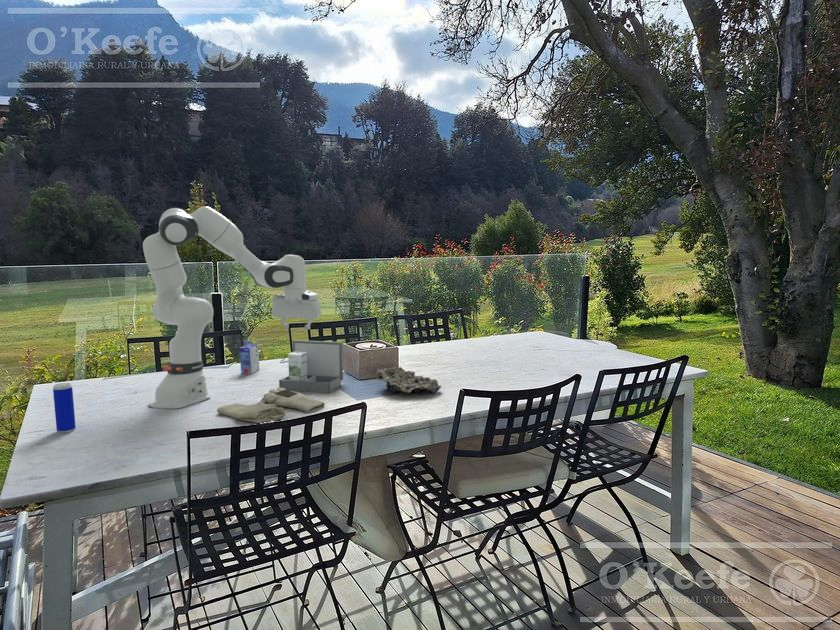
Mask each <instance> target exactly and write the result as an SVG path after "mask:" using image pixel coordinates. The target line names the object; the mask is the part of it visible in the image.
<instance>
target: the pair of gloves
mask: <svg viewBox="0 0 840 630" xmlns="http://www.w3.org/2000/svg"><path fill="white" fill-rule="evenodd" d="M324 407H325V402H324V401H322V400H318V399H315V398H312V397H309V396H306V395H304V394H303V393H300V392H298V391H290V390H286V389H284V388H279V387H277V388H276V389H275V388H273V389H269V390H268V393H264V394H263V397H262V398H261V400H260V401H259V402H257V403H252V404H249V405H248V404H241V403H236V402H235V403H231V404H227V405H223V406H219V407H217V409H216V412H217V413H218V414H220V415H224V416H228V417H232V418H234V419H237V420H239V421H240V420H241V421H244V422H251V423H253V424H254V423H255V424H257V423H264V422H271V421H276V422H278V420H281V419H283V418H284V417H286V411H285V409H284V408H289V409H296V410H299V411H300V412H304V413H306V414H307V413H312V412H314V411H315V412H316V411H317V410H320V409H323V408H324Z"/></svg>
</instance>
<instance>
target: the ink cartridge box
mask: <svg viewBox="0 0 840 630" xmlns="http://www.w3.org/2000/svg"><path fill="white" fill-rule="evenodd" d="M243 342H244V345H243V346H240V347H239V361H240V363H239V364H240V372H241V373H240V374H242V375H244V374H245V375H252V374H254V373H255V372H257V371H259V370H260V354H259V353H260V352H259V343H249V341H248V339H247V340H244V341H243Z"/></svg>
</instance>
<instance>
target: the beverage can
mask: <svg viewBox="0 0 840 630" xmlns="http://www.w3.org/2000/svg"><path fill="white" fill-rule="evenodd" d="M52 393H53V404H54V417H55V426H56V427H55V428H56V431H57V432H58V433H61V434H62V433H70V432H73V431H75V430H76V427H77V426H76V416H75V405H74V392H73V385H72V383H70V382H62V383H56V384H54V385H53V388H52Z"/></svg>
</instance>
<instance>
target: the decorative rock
mask: <svg viewBox="0 0 840 630" xmlns="http://www.w3.org/2000/svg"><path fill="white" fill-rule="evenodd" d="M415 374H416V373H415V372H414V371H411V370H405V369H404V368H403V367H401V366H398V367H396V366H395V365H392V367H389V368H388V367H387V368H385V367H384V368H377V369H376V379H377V380H378V381H379V382H385V383H386V385H385V387H386V388H388V389H389V390H390V391H391V392H393V393H396V392H397V391H401V392H404V393H411V392H412V391H413V390H414V392H415V394H419V393H420V392H422V391H424V390H428V391H429V392H430V393H431V394H434V393H438V392H439V390H441V388H442V385H439V382H438V380H437V379H435V378H433V379H432V378H430V377H429V376H427V377H425V376H423V375H415Z"/></svg>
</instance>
